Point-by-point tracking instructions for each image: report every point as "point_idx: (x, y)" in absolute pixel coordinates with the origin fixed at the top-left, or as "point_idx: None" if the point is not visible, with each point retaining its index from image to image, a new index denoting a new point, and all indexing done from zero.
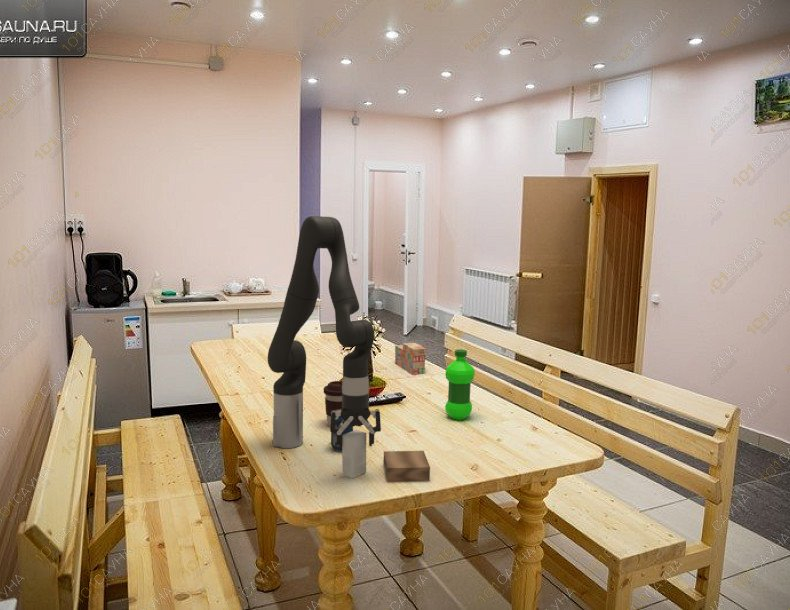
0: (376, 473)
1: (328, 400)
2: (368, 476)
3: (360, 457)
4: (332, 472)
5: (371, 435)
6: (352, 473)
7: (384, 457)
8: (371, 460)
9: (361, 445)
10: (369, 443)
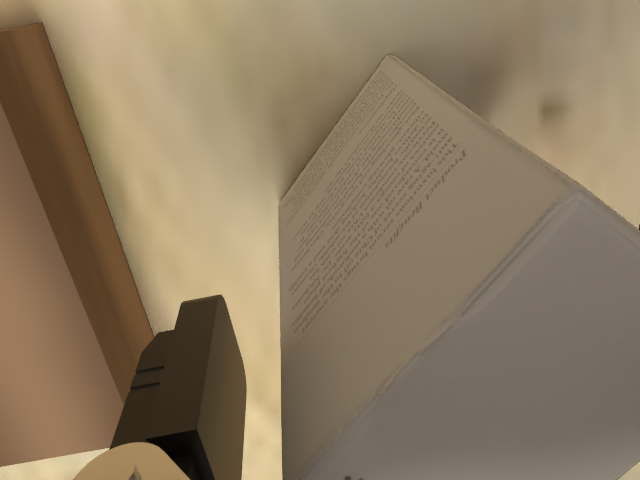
0: (184, 192)
1: None
2: (245, 121)
3: (339, 199)
4: (570, 161)
5: (158, 418)
6: (397, 61)
7: (114, 352)
8: (268, 407)
9: (345, 287)
10: (216, 317)
